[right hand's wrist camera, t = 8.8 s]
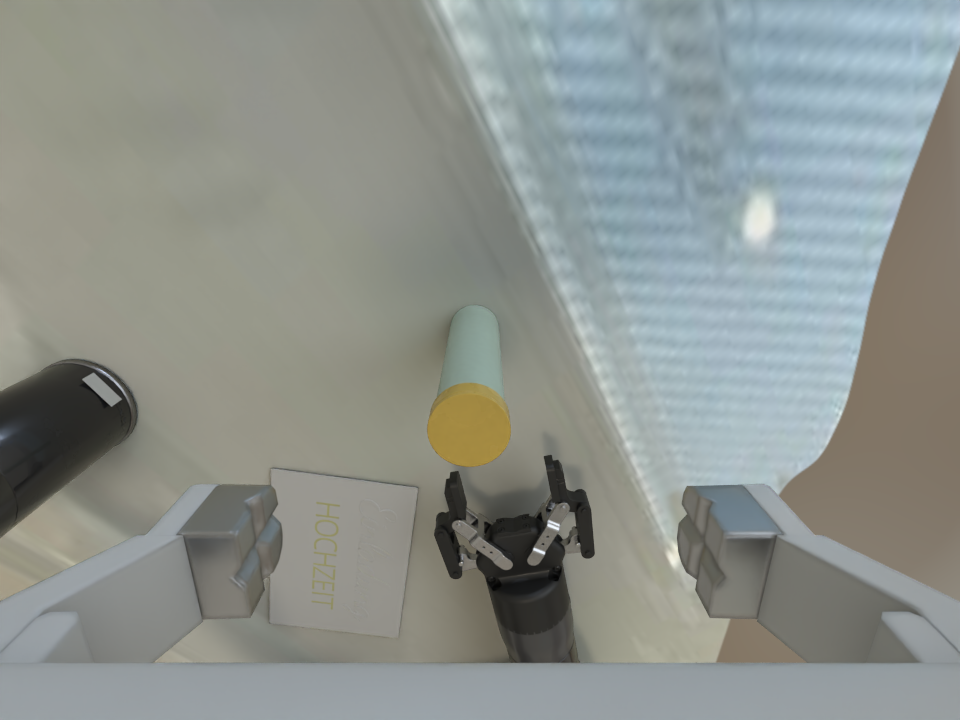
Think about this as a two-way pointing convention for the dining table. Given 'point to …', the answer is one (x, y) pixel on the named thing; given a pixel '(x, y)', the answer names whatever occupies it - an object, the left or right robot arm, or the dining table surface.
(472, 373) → the mint green bottle
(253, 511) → the right robot arm
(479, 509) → the dining table surface
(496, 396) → the lid
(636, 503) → the dining table surface
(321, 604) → the invitation card
